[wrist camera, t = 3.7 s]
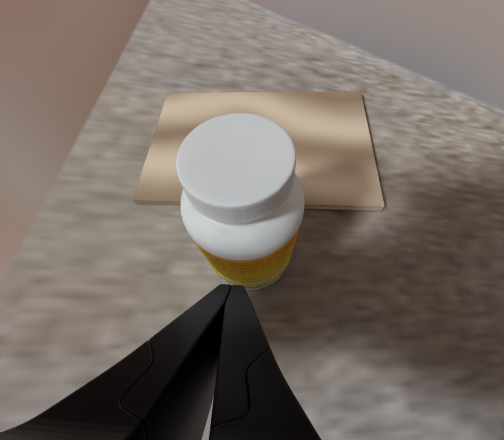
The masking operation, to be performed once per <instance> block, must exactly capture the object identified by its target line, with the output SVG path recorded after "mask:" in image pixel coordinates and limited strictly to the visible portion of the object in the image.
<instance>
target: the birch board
mask: <svg viewBox="0 0 504 440" xmlns="http://www.w3.org/2000/svg"><path fill="white" fill-rule="evenodd" d="M232 113H250V114H256V115H259V116H263V117H266V118H268V119H270V120H272V121H274V122H276V123H277V124H279V125H280V126H281V127H282V128H283V129H284V130H285V131H286V132H287V133H288V134H289V136H290V137H291V139H292V141H293V144H294V147H295V152H296V167H295V173H296V174H297V176H298V178H299V180H300V182H301V185H302V188H303V192H304V200H305V206H304V209H334V210H370V211H381V210H382V209H383V208H384V207H385V206H384V201H383V197H382V192H381V187H380V182H379V177H378V172H377V168H376V163H375V158H374V153H373V148H372V143H371V139H370V134H369V129H368V124H367V119H366V114H365V110H364V105H363V100H362V95H361V92H241V93H168V94H167V97H166V100H165V103H164V106H163V109H162V112H161V115H160V118H159V121H158V124H157V127H156V130H155V133H154V136H153V140H152V143H151V146H150V149H149V152H148V155H147V158H146V161H145V164H144V167H143V170H142V173H141V176H140V179H139V182H138V185H137V189H136V192H135V195H134V198H133V201H134V202H135V203H136V204H154V205H181V195H182V191H183V187H182V185H181V183H180V180H179V178H178V174H177V169H176V159H177V153H178V150H179V148H180V146H181V144H182V142H183V141H184V139H185V138H186V137H187V136H188V134H189V133H190V132H191V131H193V130H194V129H195V128H196V127H197V126H199V125H200V124H202V123H204V122H206V121H208V120H210V119H212V118H215V117H218V116H222V115H226V114H232Z"/></svg>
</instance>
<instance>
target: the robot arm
mask: <svg viewBox="0 0 504 440" xmlns="http://www.w3.org/2000/svg"><path fill="white" fill-rule="evenodd" d="M213 396H214V400H213ZM212 400H213V409H212V417H211V426H210V435H209V440H321V438H320V437H319V435H318V434H317V432H316V430H315V429H314V427H313V425H312V424H311V422H310V420H309V419H308V417H307V415H306V414H305V412H304V410H303V409H302V407H301V405H300V404H299V402H298V400H297V399H296V397H295V396H294V394H293V392H292V391H291V389H290V387H289V385H288V383H287V382H286V380H285V378H284V376H283V375H282V372H281V370H280V368H279V366H278V364H277V362H276V360H275V357H274V355H273V353H272V350H271V349H270V346H269V344H268V341H267V339H266V337H265V334H264V332H263V330H262V327H261V325H260V323H259V320H258V318H257V315H256V313H255V311H254V308H253V306H252V304H251V301H250V299H249V297H248V294H247V292H246V290H245V287H244V286H243V285H233V286H231V285H226V284H220V285H219V286H217V287H216V288H215V289H214V290H212V291H211V292H210V293H208V294H207V295H206V296H205V297H203V298H202V299H201V300H199V301H198V302H197V303H196V304H194V305H193V306H192V307H190V308H189V309H188V310H186V311H185V312H184V313H183V314H181V315H180V316H179V317H177V318H176V319H175V320H174V321H172V322H171V323H170V324H168V325H167V326H166V327H165V328H163V329H162V330H161V331H159V332H158V333H157V334H155V335H154V336H153V337H152V338H150V341H149V340H148V341H146V342H145V343H144V344H142V345H141V346H140V347H139V348H137V349H136V350H135V351H133V352H132V353H130V354H129V355H128V356H126V357H125V358H124V359H122V360H121V361H120V362H118V363H117V364H115V365H114V366H112V367H111V368H109V369H108V370H106V371H105V372H103V373H102V374H101V375H99V376H98V377H96V378H94V379H93V380H91V381H90V382H88V383H87V384H85V385H84V386H82V387H81V388H79V389H78V390H76V391H75V392H73V393H72V394H70V395H69V396H67V397H66V398H64V399H63V400H61V401H59V402H58V403H56V404H55V405H53V406H52V407H50V408H49V409H47V410H46V411H44V412H43V413H41V414H39V415H38V416H36V417H34V418H33V419H31V420H29V421H27V422H25V423H23V424H21V425H19V426H16V427H14V428H12V429H9V430H6V431H3V432H0V440H201V439H202V436H203V432H204V428H205V425H206V421H207V418H208V414H209V411H210V407H211V403H212Z"/></svg>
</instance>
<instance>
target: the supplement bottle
mask: <svg viewBox="0 0 504 440" xmlns="http://www.w3.org/2000/svg"><path fill="white" fill-rule="evenodd" d="M295 167H296V152H295V147H294V144H293V141H292V139H291V137H290V136H289V134H288V133H287V132H286V131H285V130H284V129H283V128H282V127H281V126H280V125H279V124H277V123H276V122H274V121H272V120H270V119H268V118H266V117H263V116H259V115H256V114H250V113H232V114H226V115H222V116H218V117H215V118H212V119H210V120H208V121H206V122H204V123H202V124H200V125H199V126H197V127H196V128H195V129H194V130H193V131H191V132H190V133H189V134H188V136H187V137H186V138H185V139H184V141H183V142H182V144H181V146H180V148H179V150H178V153H177V159H176V169H177V174H178V178H179V180H180V183H181V185H182V187H183V191H182V195H181V215H182V219H183V222H184V225H185V227H186V229H187V231H188V233H189V234H190V236H191V237H192V239H193V240H194V242H195V243H196V244H197V246H198V247H199V249H200V250H201V251H202V253H203V254H204V256H205V257H206V258H207V260H208V261H209V263H210V264H211V266H212V267H213V269H214V270H215V272H216V273H217V274H218V275H219V276H220V277H221V278H222V279H223V280H224V281H225V282H227V283H228V284H230V285H232V286H233V285H243V286H244V287H245V289H247V290H255V289H260V288H263V287H266V286H269V285H270V284H272V283H274V282H275V281H277V280H278V279H279V278H280V277H281V276H282V274H283V273H284V271H285V270H286V268H287V266H288V263H289V261H290V258H291V254H292V251H293V248H294V245H295V241H296V238H297V234H298V231H299V228H300V225H301V222H302V219H303V215H304V206H305V200H304V192H303V188H302V185H301V182H300V180H299V178H298V176H297V174H296V173H295Z"/></svg>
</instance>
